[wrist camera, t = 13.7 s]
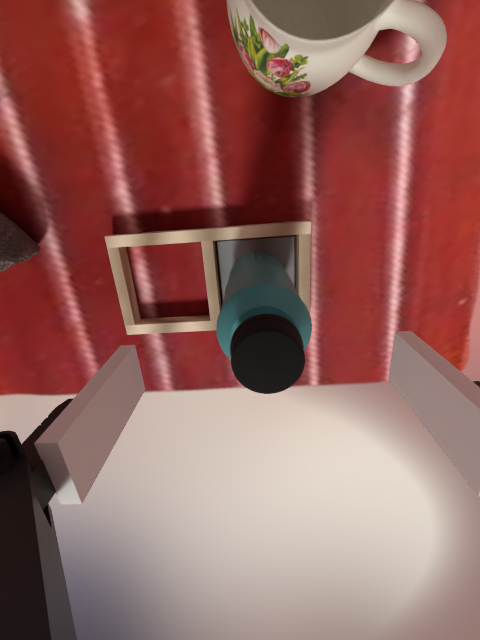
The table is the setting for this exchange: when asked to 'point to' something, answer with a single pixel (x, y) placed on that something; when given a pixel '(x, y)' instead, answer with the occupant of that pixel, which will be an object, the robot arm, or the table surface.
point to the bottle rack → (211, 266)
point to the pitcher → (330, 41)
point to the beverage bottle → (263, 324)
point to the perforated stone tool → (14, 244)
